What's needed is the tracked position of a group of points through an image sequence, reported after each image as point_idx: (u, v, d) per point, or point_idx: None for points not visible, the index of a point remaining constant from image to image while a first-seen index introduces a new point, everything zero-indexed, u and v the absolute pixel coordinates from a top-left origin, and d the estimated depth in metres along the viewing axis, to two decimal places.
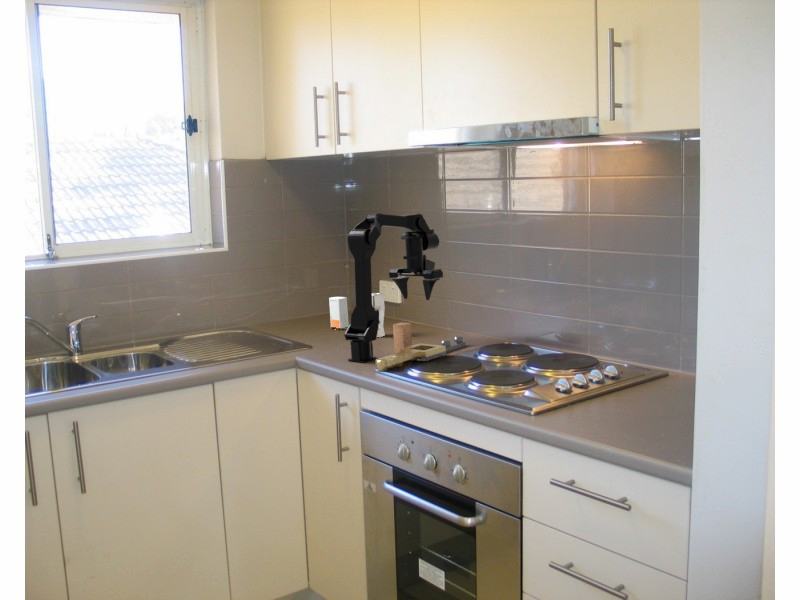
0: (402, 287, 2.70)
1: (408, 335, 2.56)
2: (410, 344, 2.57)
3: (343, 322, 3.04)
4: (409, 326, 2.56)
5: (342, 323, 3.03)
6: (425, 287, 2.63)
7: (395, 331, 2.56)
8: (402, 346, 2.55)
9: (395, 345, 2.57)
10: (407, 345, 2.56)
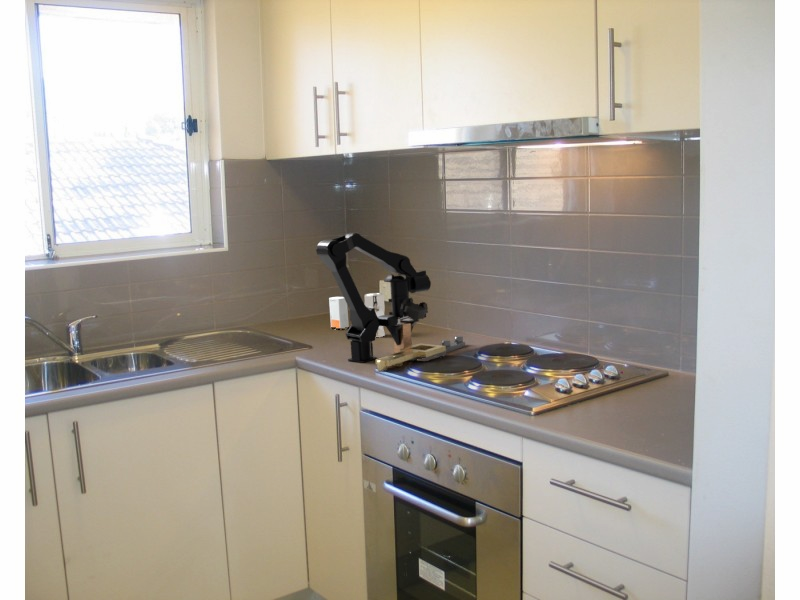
0: None
1: (408, 335, 2.56)
2: (410, 344, 2.57)
3: (343, 322, 3.04)
4: (409, 326, 2.56)
5: (342, 323, 3.03)
6: None
7: None
8: (402, 346, 2.55)
9: (395, 345, 2.57)
10: (407, 345, 2.56)
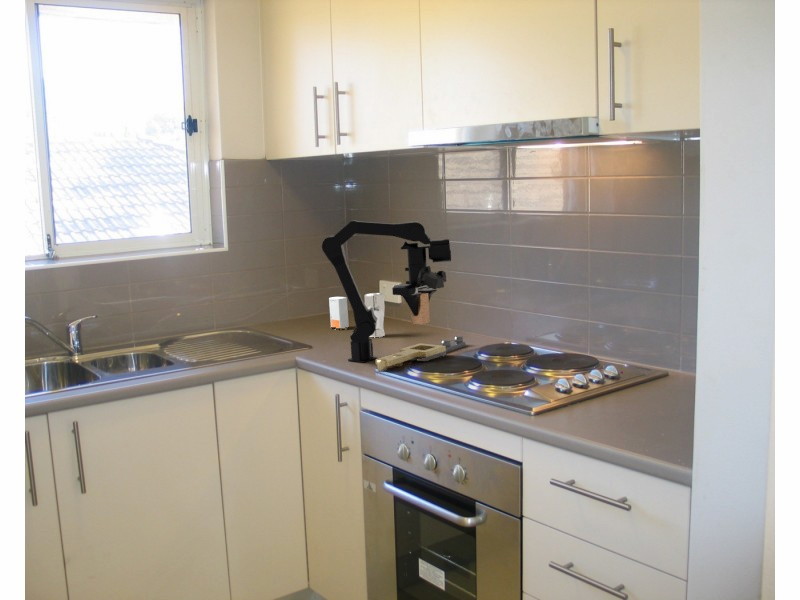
0: None
1: (426, 305, 2.45)
2: (427, 314, 2.46)
3: (343, 322, 3.04)
4: (427, 296, 2.46)
5: (342, 323, 3.03)
6: None
7: None
8: (420, 317, 2.44)
9: (412, 316, 2.46)
10: (425, 315, 2.45)
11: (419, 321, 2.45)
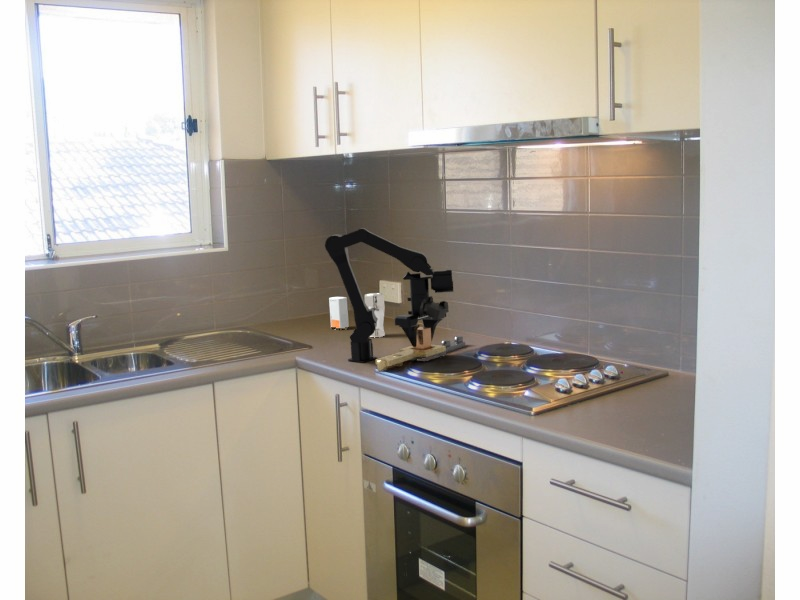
0: None
1: (428, 340, 2.46)
2: None
3: (343, 322, 3.04)
4: (429, 331, 2.46)
5: (342, 323, 3.03)
6: None
7: None
8: None
9: None
10: None
11: None
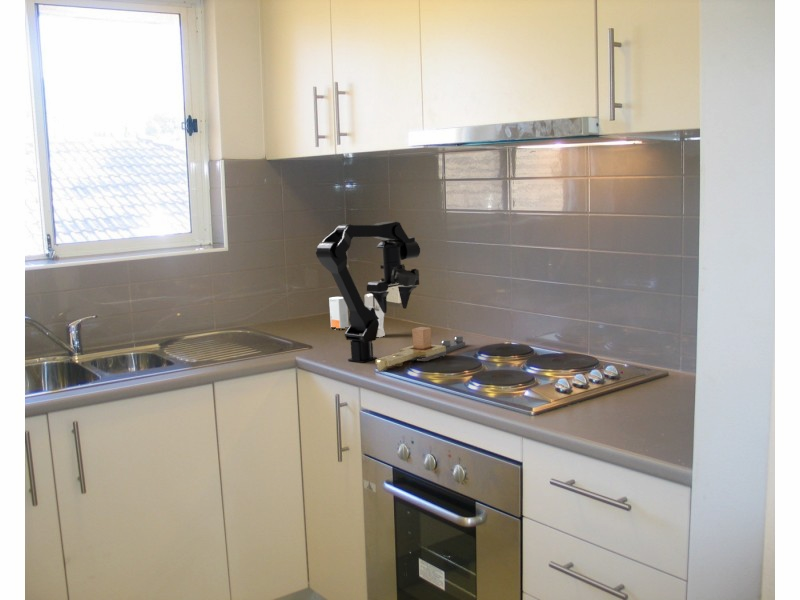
0: (401, 295, 2.61)
1: (428, 340, 2.46)
2: None
3: (343, 322, 3.04)
4: (429, 331, 2.46)
5: (342, 323, 3.03)
6: None
7: (415, 336, 2.46)
8: None
9: None
10: None
11: None
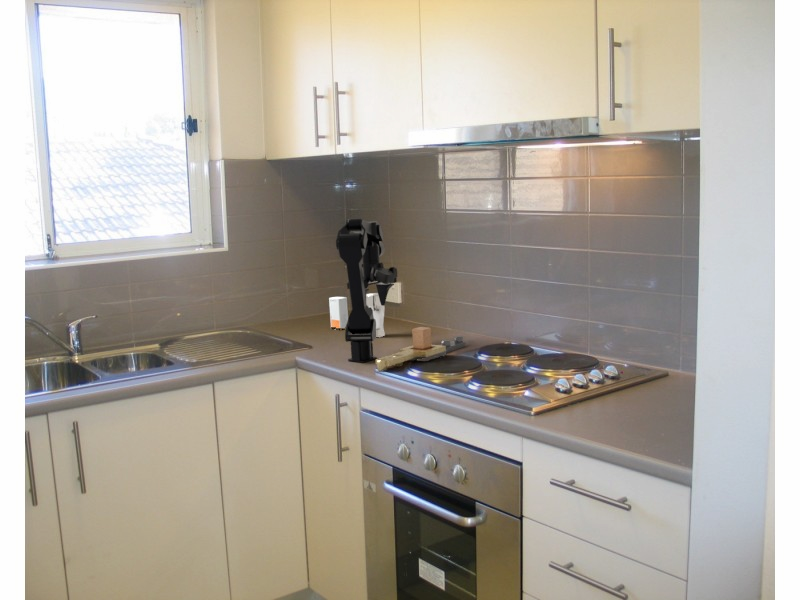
0: (379, 293, 2.71)
1: (428, 340, 2.46)
2: None
3: (343, 322, 3.04)
4: (429, 331, 2.46)
5: (342, 323, 3.03)
6: None
7: (415, 336, 2.46)
8: None
9: None
10: None
11: None
